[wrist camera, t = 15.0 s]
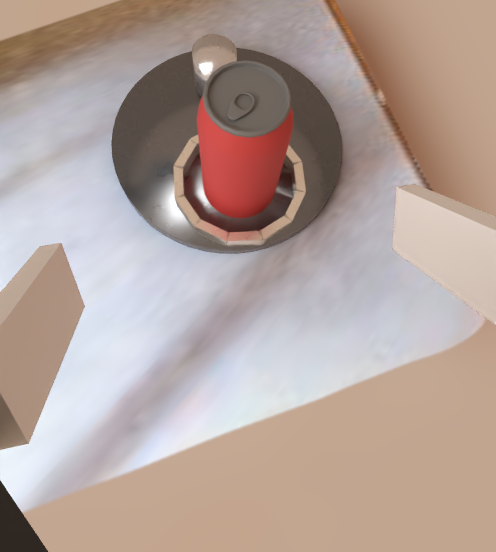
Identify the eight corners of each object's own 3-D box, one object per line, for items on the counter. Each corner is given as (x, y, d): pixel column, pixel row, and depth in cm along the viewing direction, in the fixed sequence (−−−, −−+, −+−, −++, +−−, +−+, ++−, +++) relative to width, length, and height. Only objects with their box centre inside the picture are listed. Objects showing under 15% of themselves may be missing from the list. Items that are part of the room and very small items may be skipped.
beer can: (189, 196, 35) (172, 105, 23) (229, 144, 36) (233, 35, 25) (249, 234, 34) (263, 161, 22) (287, 180, 36) (319, 86, 24)
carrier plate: (70, 190, 35) (45, 160, 30) (182, 26, 41) (177, -23, 36) (284, 293, 34) (295, 279, 29) (369, 109, 40) (390, 70, 35)
